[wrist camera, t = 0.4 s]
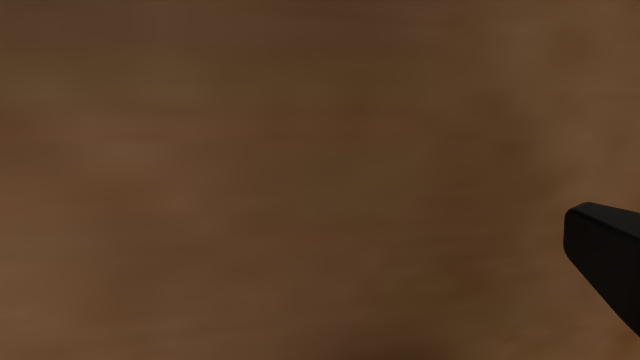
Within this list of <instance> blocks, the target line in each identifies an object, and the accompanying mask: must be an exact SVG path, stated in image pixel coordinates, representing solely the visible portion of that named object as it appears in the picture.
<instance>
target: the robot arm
mask: <svg viewBox="0 0 640 360" xmlns="http://www.w3.org/2000/svg"><path fill="white" fill-rule="evenodd" d="M563 247H564V251H565V253H566V255H567V257H568V258H569V259H570V261H571V262H572V263H573V264H574V265H575V266H576V268H577V269H578V270H579V271H580V272H581V273H582V275H583V276H584V277H585V278H586V279H587V280H588V281H589V283H590V284H591V285H592V286H593V287H594V288H595V290H596V291H597V292H598V293H599V294H600V295H601V297H602V298H603V299H604V300H605V301H606V302H607V303H608V305H609V306H610V307H611V308H612V309H613V310H614V312H615V313H616V314H617V315H618V316H619V317H620V318H621V319H622V320H623V321H624V322H625V323H626V324H627V325H628V326H629V327H630V328H631V329H632V330H633V331H634V332H635V333H636V334H637V335H638V336H639V337H640V213H638V212H633V211H629V210H624V209H619V208H615V207H610V206H605V205H601V204H596V203H591V202H585V203H582V204H580V205H578V206H575V207H573V208H571V209H569V210H568V211H567V212H566V214H565V218H564V238H563Z"/></svg>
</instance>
